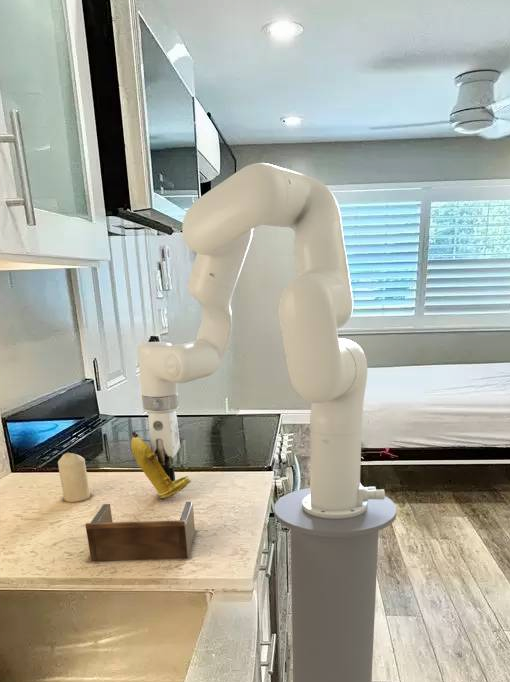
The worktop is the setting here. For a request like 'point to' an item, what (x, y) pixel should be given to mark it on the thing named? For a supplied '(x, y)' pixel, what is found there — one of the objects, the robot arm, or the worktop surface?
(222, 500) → the worktop surface
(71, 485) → the candle
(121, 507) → the worktop surface
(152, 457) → the ripe yellow banana
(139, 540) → the wooden u-shaped stand
